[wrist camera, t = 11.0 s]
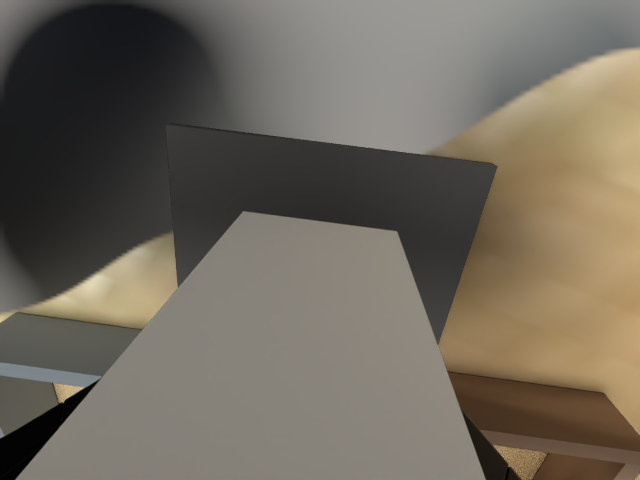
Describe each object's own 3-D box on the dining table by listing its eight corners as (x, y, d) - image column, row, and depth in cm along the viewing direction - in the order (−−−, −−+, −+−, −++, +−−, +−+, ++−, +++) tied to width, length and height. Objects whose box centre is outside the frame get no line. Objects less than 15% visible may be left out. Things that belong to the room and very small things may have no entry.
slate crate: (268, 505, 22) (257, 563, 20) (69, 476, 23) (31, 529, 20) (281, 349, 17) (268, 399, 14) (16, 312, 17) (-48, 355, 14)
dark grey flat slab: (431, 350, 16) (433, 357, 16) (185, 316, 16) (180, 323, 16) (491, 163, 12) (497, 166, 12) (171, 123, 13) (165, 124, 12)
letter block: (370, 350, 13) (431, 1035, 4) (241, 332, 13) (-29, 955, 4) (397, 231, 11) (716, 1124, 1) (243, 211, 11) (-368, 931, 2)
